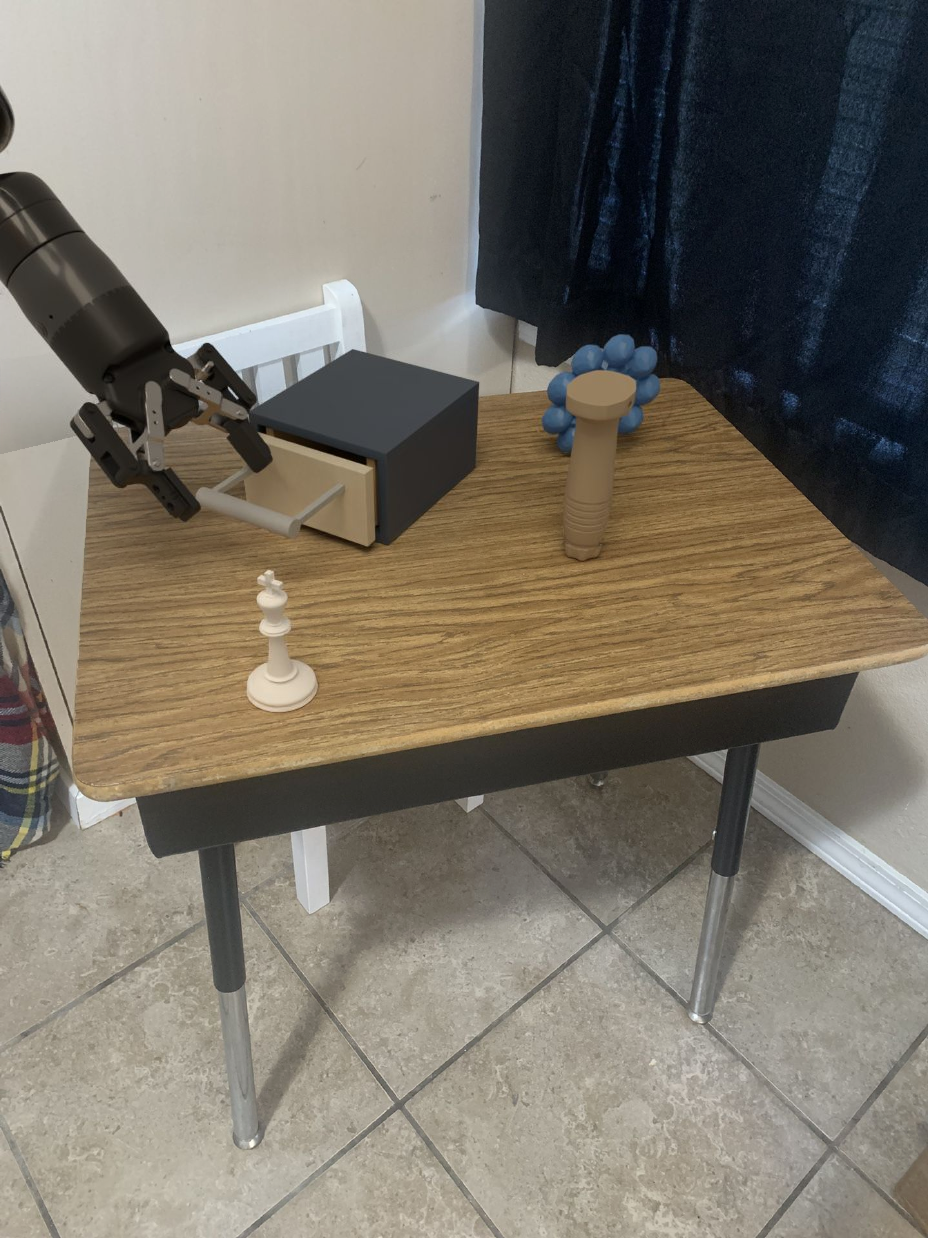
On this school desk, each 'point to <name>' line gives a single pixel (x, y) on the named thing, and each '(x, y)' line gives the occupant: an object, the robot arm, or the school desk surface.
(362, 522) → the drawer
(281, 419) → the cabinet
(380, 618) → the school desk surface
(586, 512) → the handle
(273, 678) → the chess piece
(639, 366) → the grapes
